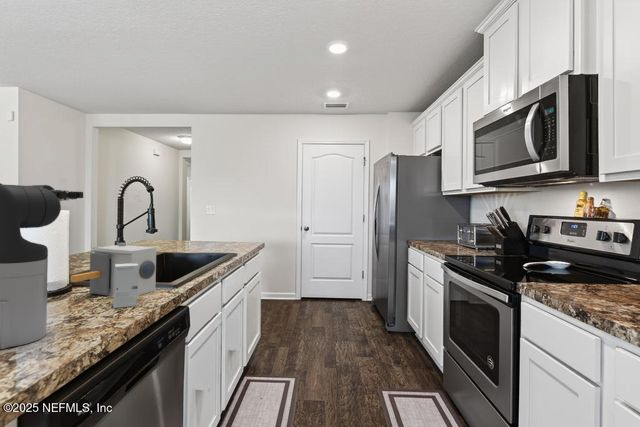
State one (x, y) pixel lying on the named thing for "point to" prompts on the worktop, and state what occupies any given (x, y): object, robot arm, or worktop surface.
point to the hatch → (96, 274)
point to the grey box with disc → (132, 255)
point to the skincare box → (125, 285)
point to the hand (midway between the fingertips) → (81, 194)
